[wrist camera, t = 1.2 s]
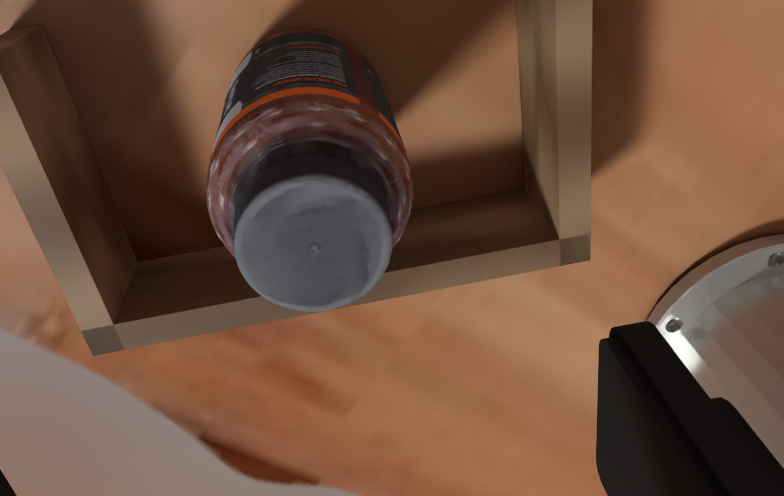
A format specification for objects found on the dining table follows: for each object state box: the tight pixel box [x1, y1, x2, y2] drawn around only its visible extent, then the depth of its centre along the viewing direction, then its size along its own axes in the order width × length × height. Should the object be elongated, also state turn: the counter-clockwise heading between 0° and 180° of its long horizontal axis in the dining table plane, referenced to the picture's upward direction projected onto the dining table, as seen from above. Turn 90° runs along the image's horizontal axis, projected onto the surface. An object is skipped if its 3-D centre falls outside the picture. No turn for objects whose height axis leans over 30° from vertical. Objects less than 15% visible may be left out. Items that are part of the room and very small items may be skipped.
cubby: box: [0, 0, 593, 356], centre depth 25 cm, size 11×19×4 cm, turn 98°
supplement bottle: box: [206, 29, 413, 312], centre depth 21 cm, size 6×6×11 cm
